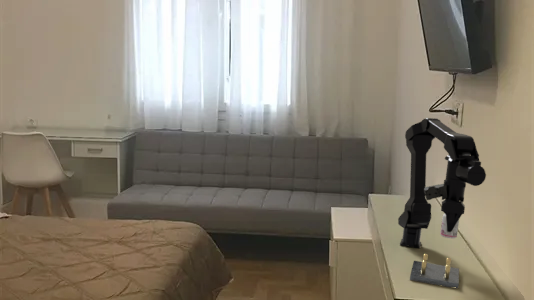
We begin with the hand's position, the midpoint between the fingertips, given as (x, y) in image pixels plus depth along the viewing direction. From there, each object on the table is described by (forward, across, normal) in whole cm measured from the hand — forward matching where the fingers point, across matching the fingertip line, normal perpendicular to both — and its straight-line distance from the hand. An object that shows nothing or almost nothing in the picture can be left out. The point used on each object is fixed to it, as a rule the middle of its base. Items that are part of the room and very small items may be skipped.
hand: (449, 229), depth 176 cm
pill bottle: (+2, 0, 0) cm, 2 cm away
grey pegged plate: (+12, +8, -2) cm, 15 cm away
